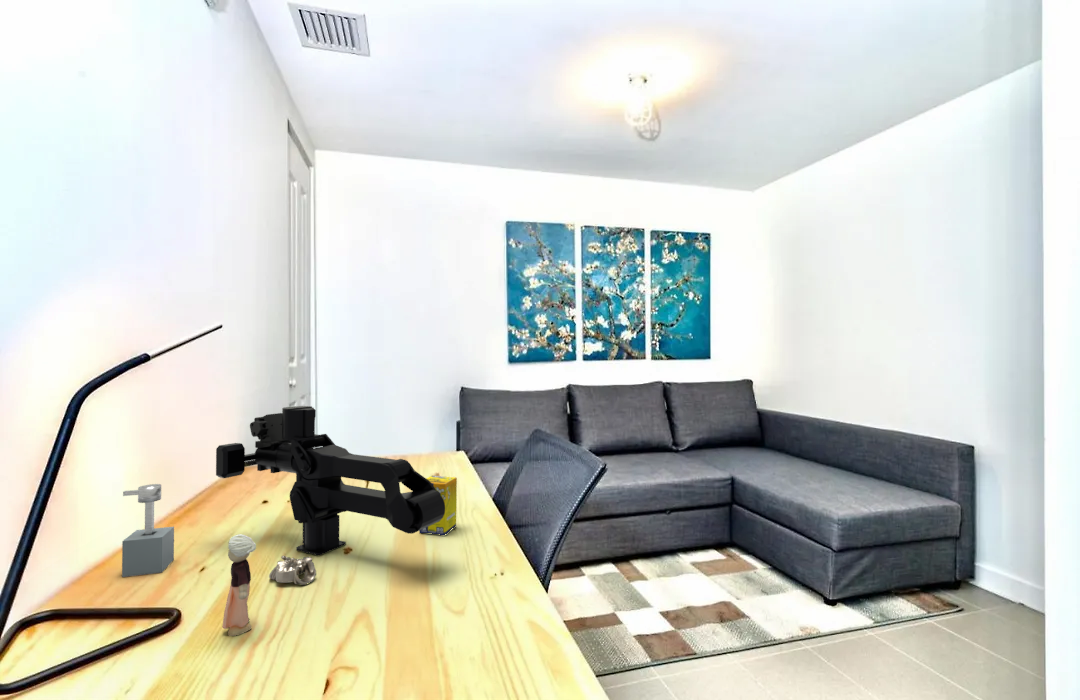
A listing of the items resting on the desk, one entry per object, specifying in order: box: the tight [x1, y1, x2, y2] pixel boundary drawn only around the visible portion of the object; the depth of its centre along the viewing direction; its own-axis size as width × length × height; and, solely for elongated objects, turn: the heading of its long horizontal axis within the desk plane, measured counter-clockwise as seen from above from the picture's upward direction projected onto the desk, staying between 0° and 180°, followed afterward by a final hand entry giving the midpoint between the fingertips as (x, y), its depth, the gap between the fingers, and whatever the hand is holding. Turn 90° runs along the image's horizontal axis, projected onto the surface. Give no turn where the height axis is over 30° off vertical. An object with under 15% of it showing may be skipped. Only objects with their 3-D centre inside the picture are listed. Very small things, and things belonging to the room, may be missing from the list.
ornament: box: [268, 555, 317, 586], centre depth 84 cm, size 8×7×4 cm
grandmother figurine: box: [222, 533, 257, 637], centre depth 68 cm, size 8×4×13 cm, turn 45°
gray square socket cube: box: [121, 526, 175, 578], centre depth 87 cm, size 6×6×6 cm
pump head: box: [122, 483, 162, 535], centre depth 87 cm, size 5×3×9 cm, turn 109°
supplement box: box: [418, 475, 458, 536], centre depth 106 cm, size 6×6×11 cm
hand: (239, 450), depth 108 cm, fingers open, 9 cm apart
